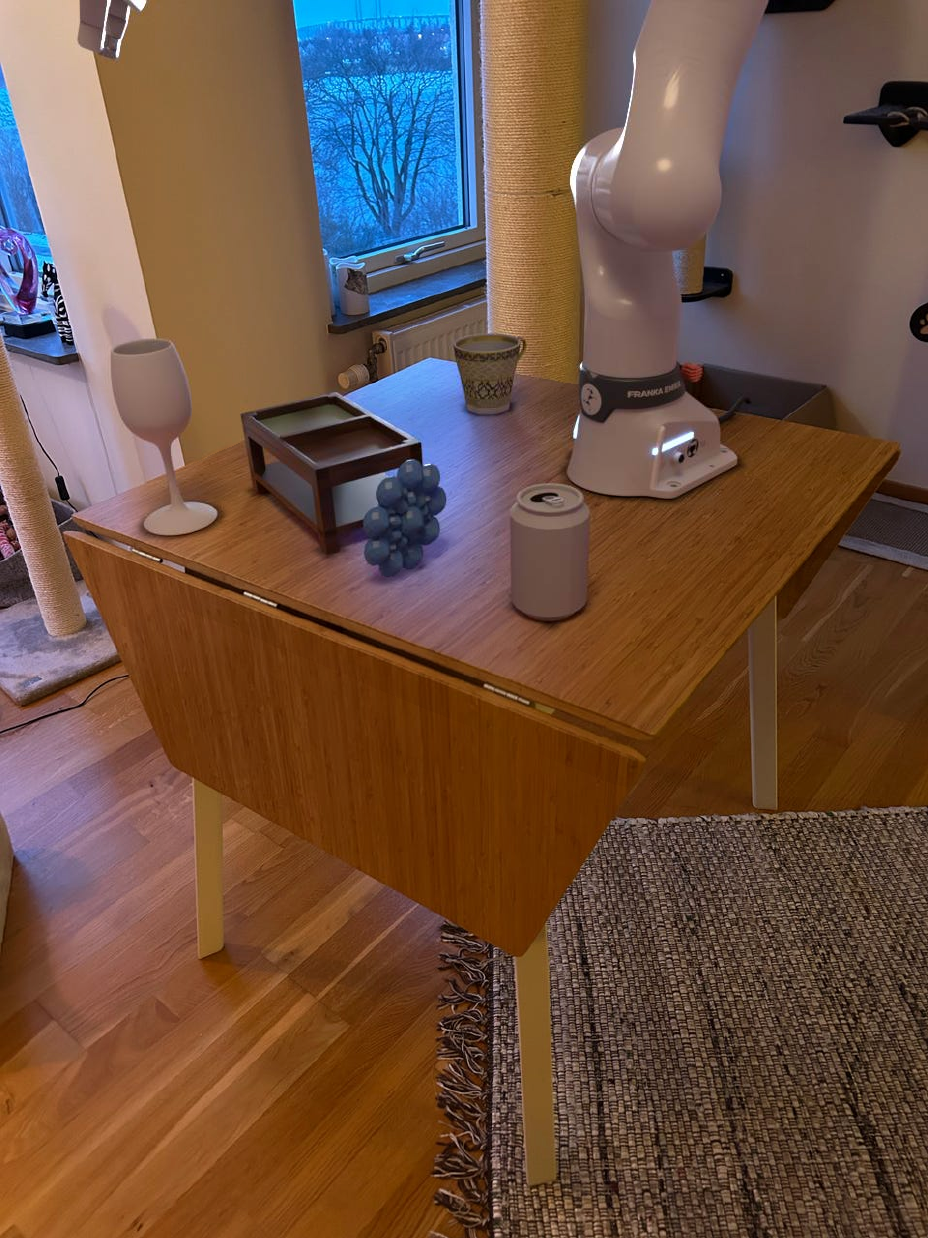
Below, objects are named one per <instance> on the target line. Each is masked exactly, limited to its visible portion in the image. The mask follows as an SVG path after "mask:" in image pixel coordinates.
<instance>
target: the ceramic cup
mask: <svg viewBox="0 0 928 1238" xmlns="http://www.w3.org/2000/svg"><path fill="white" fill-rule="evenodd" d="M521 342H522V343H521ZM521 344H522V349H521ZM452 346H453V347H452V348H453V351H454V357H455V358H454V359H455V362H456V366H457V370H458V373H459V376H460V381H461V382H460V383H461V386H462V391H463V396H464V401H465V405H466V409H467V411H468V412H470V413H472V414H476V415H481V416H482V415H498V414H501V413H504V412H506V411H509V410H510V405H511V401H512V400H511V399H512V392H513V386H514V380H515V374H516V371H517V367H518V363H519V362H520V360H521V359H522V357H523V356H524V355H525V353H526V350H527V341H526V338H524V337H522V336H515V335H510V334H506V333H498V332H497V333H496V332H495V333H494V332H487V333H485V332H484V333H475V334H469V335H465V336H462V337H459V338H457V339H456V340H455V341H454V342H453V343H452Z"/></svg>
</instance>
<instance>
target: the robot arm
mask: <svg viewBox="0 0 928 1238" xmlns="http://www.w3.org/2000/svg"><path fill="white" fill-rule="evenodd" d="M769 1H770V0H650V3H649V6H648V9H647V11H646V14H645V18H644V20H643V23H642V26H641V29H640V32H639V35H638V38H637V40H636V44H635V47H634V50H633V80H632V86H631V95H630V100H629V104H628V105H629V106H628V111H627V116H626V120H625V125H624V126H623V127H622V126H621V127H616V128H612V129H609V130H607V131H603V132H602V133H600V134H598V135H596V136H595V137H593V138H592V139H591V140H589V141H588V142H587V143H585V145H583V147H582V148H581V149H580V151H579V152H578V154H577V155H576V158H575V159H574V162H573V164H572V168H571V172H570V189H571V193H572V194H571V195H572V197H573V201H574V206H575V213H576V215H575V216H576V226H577V227H576V228H577V235H578V236H577V238H578V247H579V248H578V249H579V257H580V264H581V271H582V281H583V291H584V320H583V321H584V323H583V324H584V326H583V359H582V360H583V361H581V363H580V365H579V373H578V375H579V376H578V398H579V407H580V408H579V414H578V417H577V420H576V422H575V426H574V429H573V439H575V440H574V444H573V449H572V452H571V457H570V460H569V463H568V466H567V469H566V475H567V477H568V479H569V480H570V481H571V482H572V483H574V485H577V486H578V487H580V488H581V489H585V490H587V491H591V492H593V493H598V494H603V495H609V496H618V497H651V498H658V499H665V500H667V499H668V500H669V499H670V500H671V499H675V498H678V497H680V496H682V495H684V494H685V493H687V492H689V491H691V490H693V489H694V488H696V487H698V486H701V485H702V484H704V483H706V482H708V481H709V480H711V479H713V478H715V477H717V476H719V475H720V474H722V473H724V472H726V471H728V470H730V469H732V468H733V467H736V466H737V465H738V456H737V454H736V453H735V452H734V451H733V450H732V449H730V448H729V447H727V445H726V446H725V445H724V444H722V443H721V423H723V422H726V420H728V419H729V418H731V417H732V416H733V415H734V414H735V413H736V412H737V411H738V410H739V409H740V408H741V406H742V405H743V404H744V403H745V404H746V405H750V404H753V403H752V399H751V398H750V397H749V396H748V395H743V396H741V397H740V398H738V400H737V401H736V402H735V404H734V405H733V406H732V407H731V408H730V409H729V410H728V411H726V412H725V413H724V414H722V415H719V416H717V415H716V413H714V412H713V411H712V410H710V409H709V408H708V407H707V406H705V405H704V404H703V403H701V401H699V400H697V398H695V397H693V395H691V394H690V393H689V392H688V391H686V385H685V382H684V380H689V381H690V382H691V383H696V382H699V381H700V380H701V377H703V375H702V374H703V367H702V366H701V365H699V364H693V363H692V362H689V361H688V362H685V363H684V364H680V362H679V361H678V351H679V350H678V349H679V339H680V328H681V327H680V326H681V314H682V305H683V301H682V300H683V299H682V293H681V289H680V286H679V284H678V280H677V277H676V270H675V264H674V256H673V252H675V251H681V250H684V249H687V248H689V247H691V246H693V245H694V244H696V243H698V242H699V241H700V240H701V239H703V237H704V236H706V234H707V233H708V232H709V231H710V229H711V228H712V226H713V225H714V223H715V222H716V219H717V217H718V215H719V212H720V208H721V204H722V198H723V188H722V187H723V186H722V179H721V175H720V167H721V165H720V164H721V157H722V151H723V146H724V142H725V136H726V131H727V126H728V121H729V116H730V112H731V111H730V110H731V107H732V102H733V99H734V94H735V91H736V88H737V84H738V81H739V79H740V77H741V76H740V75H741V73H742V70H743V68H744V65H745V62H746V60H747V58H748V55H749V53H750V49H751V48H752V45H753V42H754V40H755V37H756V34H757V32H758V30H759V27H760V24H761V21H762V19H763V16H764V14H765V11H766V9H767V7H768V4H769ZM146 3H147V0H79V25H78V31H77V44H78V45H79V46H80V48H83V49H86V50H88V51H91V52H93V53H96V54H98V55H99V56H101V57H103V58H106V59H109V60H111V61H117V60H118V58H119V56H120V50H121V44H122V40H123V37H124V34H125V31H126V29H127V26H128V22H129V16H130V11H133V12H135V13H141V12H142V11H143V9H144V7H145V4H146Z"/></svg>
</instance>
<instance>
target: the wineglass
mask: <svg viewBox="0 0 928 1238" xmlns="http://www.w3.org/2000/svg"><path fill="white" fill-rule="evenodd" d="M110 378H111V386H112V392H113V398H114V401H115V405H116V408H117V411H118V414H119V416H120V419H121V421H122V423H123V424H124V425H125V427H126V428H127V429H128V430H129V431H130V432H131V433H132V434H134V435H135V436H136V437H138V438H139V439H141V440H143V441H145V442H147V443H150V444H153V445H154V446H156V447H157V449H158V450H159V453H160V455H161V459H162V461H163V465H164V469H165V473H166V478H167V483H168V489H169V495H170V504H167V505H165V506H162V507H160V508H157V509H156V510H154V511H152V512H151V513H150V514H149V515H148V516H147V517H145V519H144V521H143V526H144V529H145V530H146V531H147V532H149V533H151V534H154V535H159V536H179V535H187V534H190V533H194V532H197V531H200V530H202V529H205V528H206V527H208V526H210V525H211V524H212V523H214V522H215V521H216V519H217V518H218V511H217V509H215V508H214V507H213V506H212V505H210V504H207V503H204V502H198V501H184V500H183V497H182V494H181V491H180V488H179V484H178V481H177V477H176V472H175V468H174V463H173V457H172V444H173V442H174V441H175V440H176V439H178V438H179V437H180V436H181V435H182V434H183V433H184V431H185V430H186V429H187V427H188V425H189V423H190V421H191V418H192V413H193V401H192V400H193V399H192V393H191V387H190V384H189V380H188V377H187V374H186V369H185V367H184V365H183V363H182V360H181V357H180V355H179V353H178V351H177V348H176V346H175V345H174V343H173V342H172V340H169V339H165V338H156V337H155V338H154V337H153V338H152V337H151V338H139V339H132V340H129V341H125V342H122V343H119V344H117V345H115V346H113V347H112V348H111V350H110Z"/></svg>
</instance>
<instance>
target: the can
mask: <svg viewBox="0 0 928 1238" xmlns="http://www.w3.org/2000/svg"><path fill="white" fill-rule="evenodd" d="M584 501H585V497H584V494H583V493H582V492H581V491H580V489H578V488H576V487H573V486H571V485H568V484H564V483H557V482H556V483H555V482H547V483H537V484H532V485H529V486H527V487H525V488H523V489H522V490H520V491H519V492H518V493H517V495H516V502H514V504H513V505H512V506H511V508H510V509H509V536H510V537H509V538H510V539H509V541H510V597H511V603H512V604H513V605H514V606H515V608H516V609H517V610H519V611H521V612H522V613H523V614H524V615H525V616H527V617H529V618H531V619H536V620H537V621H544V622H545V621H546V622H553V621H560V620H565V619H567V618H569V617H571V616H573V615H574V614H576V612H579V611H580V610H581V609H582V608H583V607H584V606H585V605H586V603H587V600H588V584H589V583H588V580H589V579H588V577H589V552H590V529H591V511H590V508H589V505H587V504H586V503H585V502H584Z"/></svg>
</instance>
